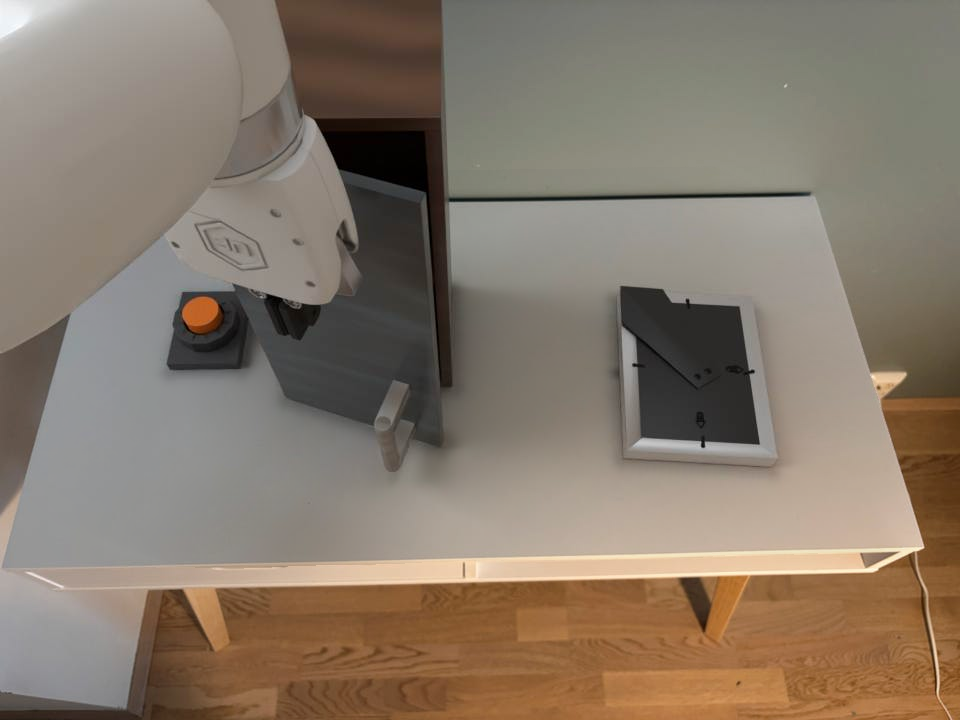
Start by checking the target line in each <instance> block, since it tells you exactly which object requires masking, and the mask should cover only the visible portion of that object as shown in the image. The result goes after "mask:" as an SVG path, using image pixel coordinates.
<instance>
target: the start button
mask: <svg viewBox="0 0 960 720" xmlns="http://www.w3.org/2000/svg"><path fill="white" fill-rule="evenodd" d="M182 316H183V319H184V321H185V323H186V324H187V326H188V327H189V329H190V330H191V331H192V332H194V333H197V334H208V333H211V332H213V331H214V330H216V329H217V328H218V327H219V326H220V325H221V323H222V320H223V314H222V311H221V310H220V308H219V306H218V304H217V302H216V301H215V300H214V299H212V298H209V297H198V298H195V299H193V300H191V301H189V302H188V303H187V304H186V305H185V307H184V309H183V312H182Z"/></svg>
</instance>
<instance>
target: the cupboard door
mask: <svg viewBox="0 0 960 720" xmlns="http://www.w3.org/2000/svg"><path fill="white" fill-rule="evenodd" d="M338 170H339V169H338ZM339 173H340V176H341V178H342V181H343V184H344V187H345V190H346V193H347V196H348V199H349V202H350V205H351V209H352V213H353V216H354V220H355V224H356V229H357V235H358V245H359V246H358V250H357V252H355V253H350V255H351V257H352V259H353V261H354V262H355V264H356V266H357V268H358V270H359V272H360V273H361V275H362V278H363V279H362V281H361V283H360V285H359V287H358V289H357V291H356V293H355V295H354V296H346V295H339V294H335V295H334V297H333V298H332V300H331V301H330V302H329V303H326V304H320V306H321V312H320V315H319V318H318V320H317V321H316V323H315V325H314V326H308V328H307V330H306V332H305V334H304V336H303V338H302V339H301V340H300V341H299V340H296V339H293V338H292V337H291V336H290V335H287V336H283V335H279V334H277V332H276V330H275V327H274V325H273V323H272V320H271V318H270V316H269V314H268V311H267V309H266V307H265V305H264V302H265V301H264V299H262V298H258V297H256V296H254V295H253V294H252V293H251V292H250V291H249V290H248V288H246V287H243V286H240V285H236V284H233V283H231V285H232V287H233V289H234V291H236V293H237V295H238V297H239V300H240V302H241V304H242V306H243V308H244V310H245V312H246V314H247V316H248V322H249V323H250V325H251V327H252V329H253V331H254V333H255V335H256V338H257V340H258V342H259V344H260V346H261V348H262V351H263V352H264V355H265V356H266V359H267V361H268V363H269V365H270V368H271V369H272V371H273V373H274V375H275V378H276V380H277V382H278V385H279V386H280V389H281V390H282V392H283V396H284V397H285V398H286V399H289V400H292V401H294V402H298V403H301V404H305V405H307V406H311V407H314V408H316V409H320V410H324V411H327V412H330V413H332V414H335V415H339V416H342V417H346V418H349V419H352V420H354V421H358V422H360V423H364V424H368V425H370V426H373V427H374V431H375V434H376V438H377V442H378V445H379V449H380V452H381V453H380V454H381V458H382V461H383V465H384V468H385V470H386V471H387V472H388V473H396V472H398V471H399V470H400V468H401V466H402V463H403V462H404V459H405V457H406V455H407V453H408V450H409V447H410V445H411V443H412V441H413V439H415V440H418V441H421V442H424V443H426V444H429V445H432V446H436V447H438V448H441V447H442V446H443V444H444V441H445V435H444V421H443V419H444V418H443V407H442V394H441V393H442V392H441V386H440V379H439V365H438V351H437V338H436V324H435V311H434V297H433V284H432V270H431V257H430V243H429V230H428V216H427V203H426V193H425V192H423V191H419V190H415V189H411V188H407V187H404V186H400V185H396V184H392V183H388V182H385V181H381V180H377V179H373V178H369V177H366V176H362V175H358V174H354V173H351V172H347V171H343V170H339Z"/></svg>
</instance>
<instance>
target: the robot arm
mask: <svg viewBox="0 0 960 720" xmlns="http://www.w3.org/2000/svg"><path fill="white" fill-rule="evenodd" d="M163 236H165V239H166V240H167V243H168V244H169V246H170V248H171V250H172V251H173V253H174V255H175V256H176V257H177V259H178V260H179V262H181V263H182V265H184V266H186V267H187V268H189V269H190V270H193V271H194V272H196V273H199V274H202V275H205V276H208V277H211V278H214V279H217V280H220V281H224V282H227V283H230V284H232V283H233V284H236V285H240V286H243V287H246V288H248V290H249V291H250V292H251V293H252V294H253V295H254V296H256V297H258V298H262V299H264V301H265V302H264V305H265V307H266V309H267V311H268V314H269V316H270V318H271V320H272V323H273V325H274V327H275V330H276V332H277V334H279V335H283V336H287V335H290V336H291V337H292V338H293V339H296V340H299V341H300V340H301V339H302V338H303V336H304V334H305V332H306V330H307V328H308V326H314V325H315V323H316V321H317V320H318V318H319V315H320V312H321V306H320V304H326V303H329V302H330V301H331V300H332V298H333V297H334V295H335V294H339V295H346V296H354V295H355V293H356V291H357V289H358V287H359V285H360V283H361V281H362V279H363V278H362V275H361V273H360V272H359V270H358V268H357V266H356V264H355V262H354V261H353V259H352V257H351V255H350V253H355V252H357V250H358V246H359V245H358V235H357V229H356V224H355V220H354V216H353V213H352V209H351V205H350V202H349V199H348V196H347V193H346V190H345V187H344V184H343V181H342V178H341V176H340V173H339V170H338V168H337V166H336V163H335V161H334V158H333V156H332V154H331V152H330V150H329V148H328V145H327V143H326V141H325V139H324V137H323V135H322V133H321V132H320V130H319V128H318V126H317V124H316V122H315V121H314V120H313V119H312V118H310V117H308V116H306V115H305V114H304V112H303V108H302V104H301V100H300V96H299V92H298V88H297V84H296V80H295V76H294V72H293V68H292V65H291V61H290V57H289V53H288V49H287V45H286V41H285V38H284V34H283V30H282V26H281V22H280V18H279V14H278V11H277V7H276V3H275V0H0V355H1V354H3V353H6V352H8V351H10V350H13V349H15V348H16V347H19V346H20V345H22V344H23V343H25V342H27V341H29V340H30V339H33V338H34V337H36V336H38V335H40V334H42V333H43V332H46V331H47V330H48V329H50V328H51V327H52V326H54V325H56V324H57V323H58V322H60V321H61V320H63V319H64V318H66V317H67V316H68V315H70V314H71V313H73V312H74V311H75V310H77V309H78V308H79V307H81V305H83V304H84V303H85V302H86V301H88V300H89V299H91V298H92V297H93V296H95V295H96V294H97V293H98V292H100V290H101V289H103V288H104V287H105V286H106V285H108V284H109V283H110V282H111V281H112V280H114V279H115V278H116V277H117V276H118V275H119V274H120V273H122V272H123V271H124V270H126V269H127V268H128V267H129V266H130V265H131V264H132V263H133V262H135V261H136V260H137V259H139V257H141V256H142V255H143V254H144V253H145V252H146V251H148V250H149V249H150V248H152V246H153V245H155V243H157V242H158V240H160V239H161V238H162V237H163Z"/></svg>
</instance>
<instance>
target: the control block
mask: <svg viewBox="0 0 960 720" xmlns="http://www.w3.org/2000/svg"><path fill="white" fill-rule="evenodd" d="M198 297H209V298H212V299H214V300H215V301H216V302H217V304H218V306H219V308H220V310H221V311H222V314H223V320H222V323H221V325H220V326H219V327H218V328H217V329H216V330H214V331H213V332H211V333H208V334H197V333H194V332H192V331H191V330H190V329H189V327H188V326H187V324H186V323H185V321H184V319H183V316H182V312H183V309H184V307H185V305H186V304H187V303H188V302H189V301H191V300H193V299H195V298H198ZM248 322H249V319H248V316H247V314H246V312H245V310H244V308H243V306H242V304H241V302H240V300H239V297H238V295H237V293H236V291H235V290H229V291H228V290H225V291H224V290H221V291H219V290H218V291H216V290H215V291H213V290H212V291H182V292H181V295H180V301H179V305H178V308H177V309H176V310H175V311H174V315H173V320H172V328H173V332H172V337H171V341H170V345H169V350H168V355H167V359H166V366H167V367H168V369H169V370H204V369H205V370H206V369H207V370H208V369H211V370H212V369H215V370H216V369H217V370H218V369H241V366H242V361H243V354H244V348H245V342H246V336H247V329H248Z"/></svg>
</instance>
